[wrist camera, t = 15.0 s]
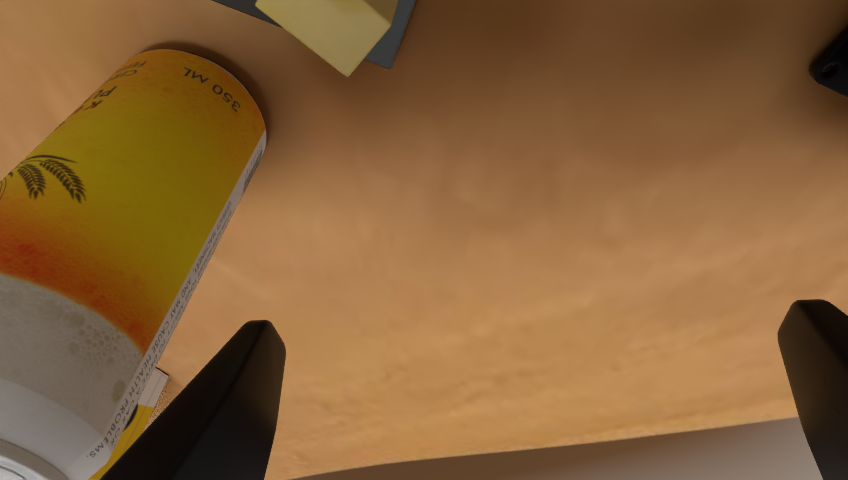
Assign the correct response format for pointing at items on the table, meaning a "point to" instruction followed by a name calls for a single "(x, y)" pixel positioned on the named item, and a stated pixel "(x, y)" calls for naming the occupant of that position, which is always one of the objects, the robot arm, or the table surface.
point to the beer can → (112, 252)
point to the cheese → (338, 27)
